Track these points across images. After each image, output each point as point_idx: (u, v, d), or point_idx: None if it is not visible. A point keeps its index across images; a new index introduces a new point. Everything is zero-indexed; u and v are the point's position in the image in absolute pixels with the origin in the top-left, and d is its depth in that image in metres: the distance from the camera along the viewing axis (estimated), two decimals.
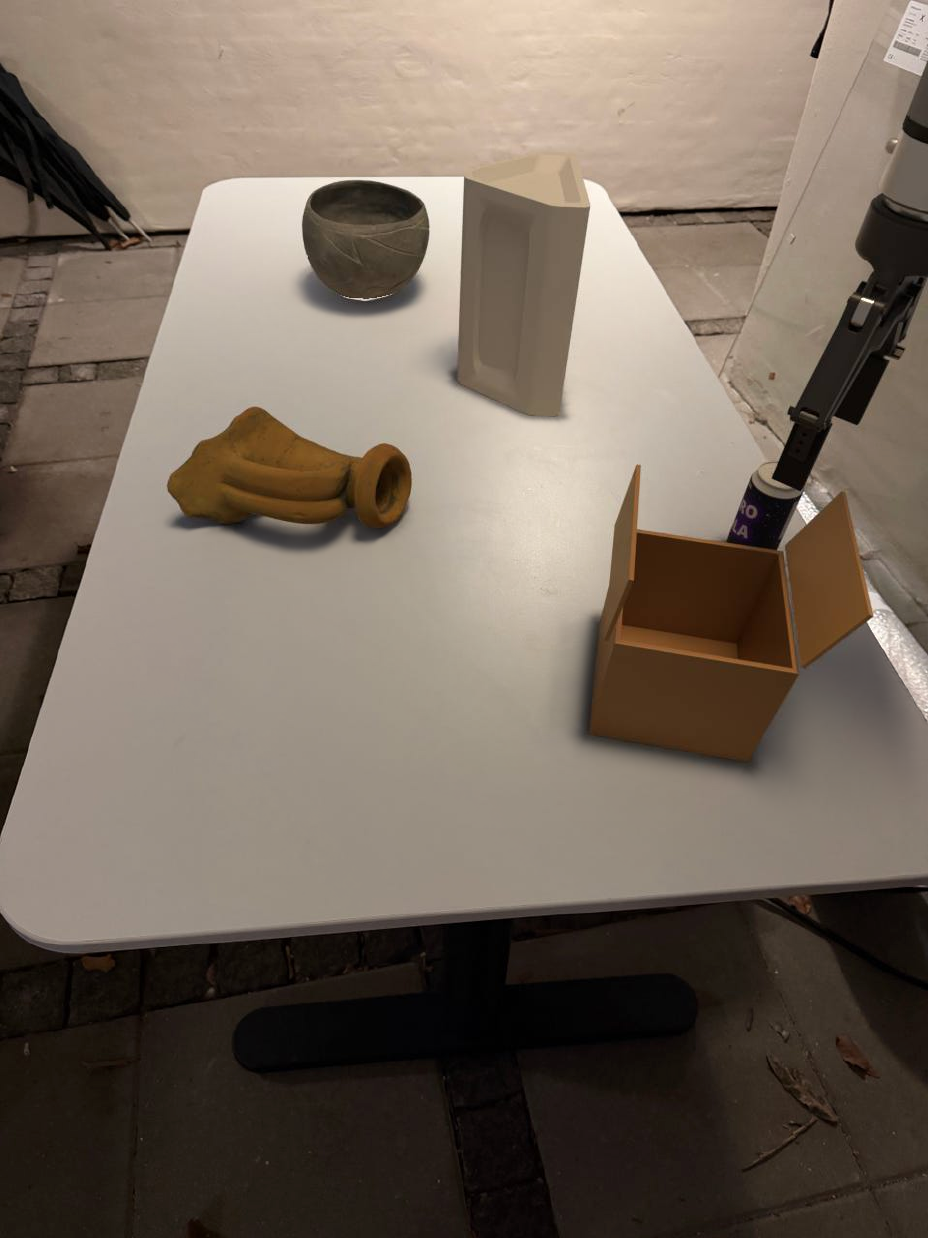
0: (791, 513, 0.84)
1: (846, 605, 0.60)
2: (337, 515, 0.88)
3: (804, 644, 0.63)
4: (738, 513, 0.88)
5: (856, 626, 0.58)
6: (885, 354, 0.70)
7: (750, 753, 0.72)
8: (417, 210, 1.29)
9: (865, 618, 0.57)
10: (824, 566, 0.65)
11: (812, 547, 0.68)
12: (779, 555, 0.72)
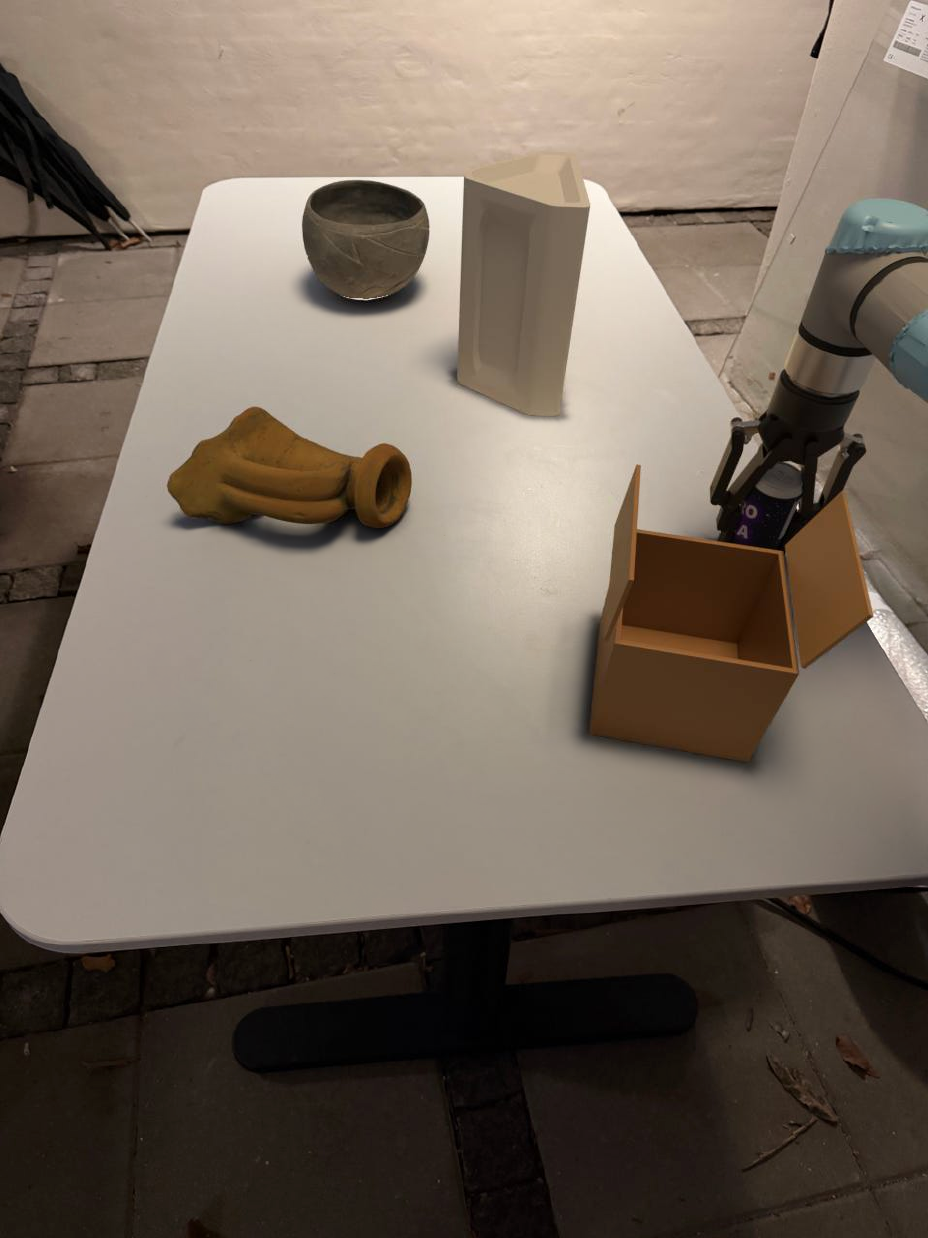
0: (791, 513, 0.84)
1: (846, 605, 0.60)
2: (337, 515, 0.88)
3: (804, 644, 0.63)
4: None
5: (856, 626, 0.58)
6: (800, 516, 0.86)
7: (750, 753, 0.72)
8: (417, 210, 1.29)
9: (865, 618, 0.57)
10: (824, 566, 0.65)
11: (812, 547, 0.68)
12: (779, 555, 0.72)
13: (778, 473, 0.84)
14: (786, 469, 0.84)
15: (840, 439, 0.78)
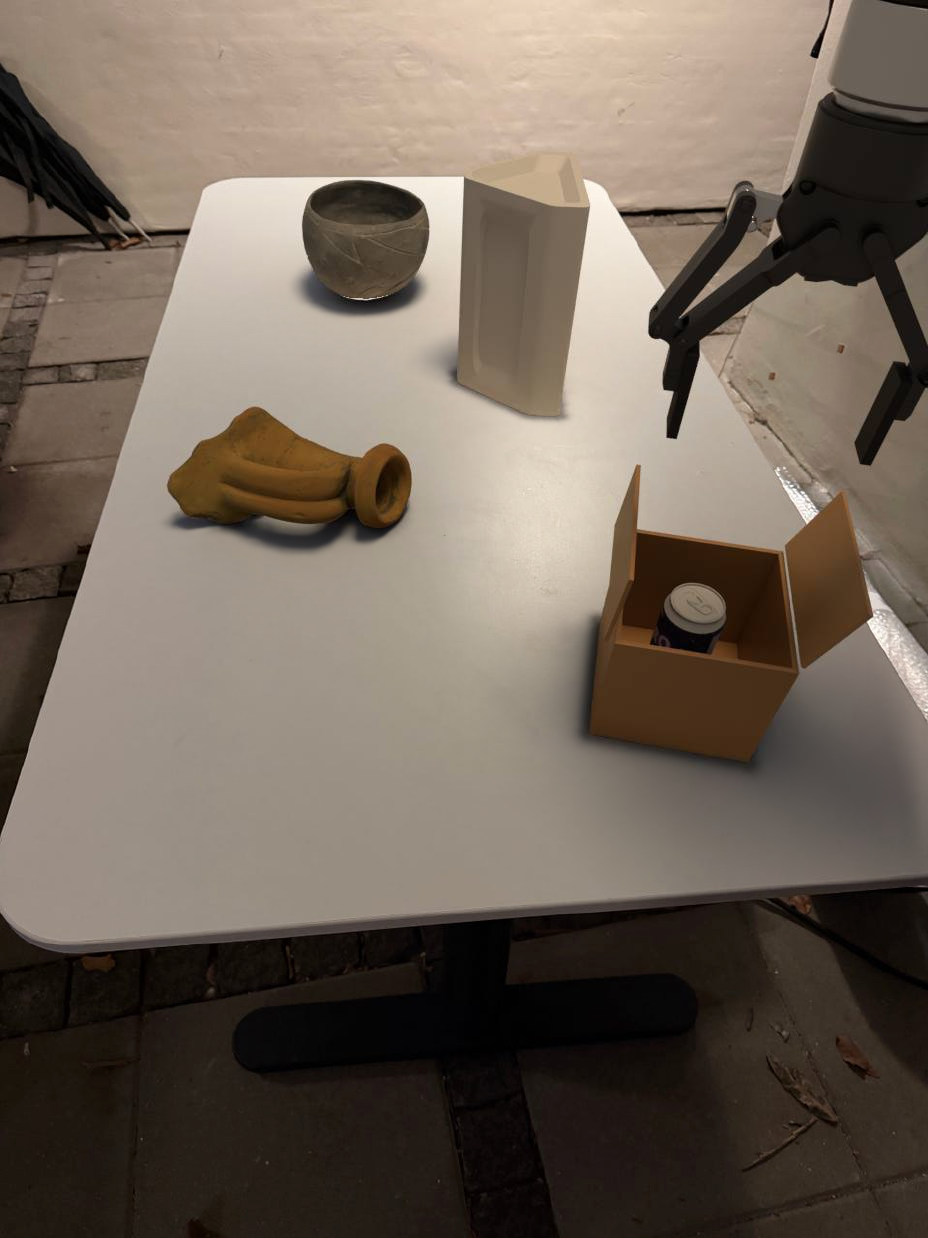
0: (711, 647, 0.70)
1: (846, 605, 0.60)
2: (337, 515, 0.88)
3: (804, 644, 0.63)
4: (652, 640, 0.74)
5: (856, 626, 0.58)
6: (915, 374, 0.50)
7: (750, 753, 0.72)
8: (417, 210, 1.29)
9: (865, 618, 0.57)
10: (824, 566, 0.65)
11: (812, 547, 0.68)
12: (779, 555, 0.72)
13: (695, 600, 0.69)
14: (705, 595, 0.70)
15: (925, 223, 0.44)
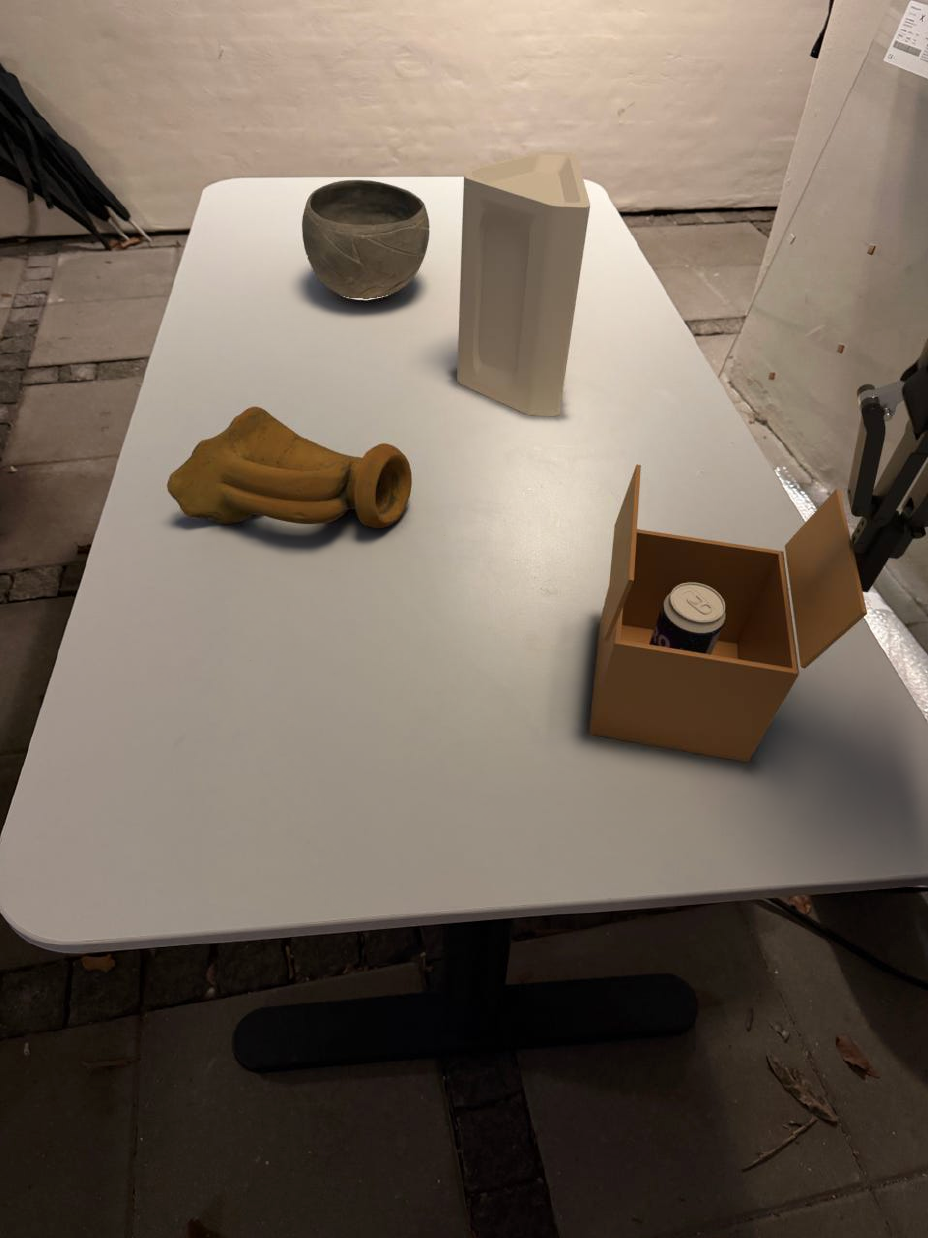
0: (710, 646, 0.70)
1: (841, 603, 0.60)
2: (337, 515, 0.88)
3: (803, 644, 0.63)
4: (651, 640, 0.74)
5: (851, 624, 0.58)
6: (907, 520, 0.58)
7: (750, 753, 0.72)
8: (417, 210, 1.29)
9: (859, 616, 0.57)
10: (821, 565, 0.65)
11: (809, 546, 0.68)
12: (779, 555, 0.72)
13: (694, 600, 0.69)
14: (705, 594, 0.70)
15: None
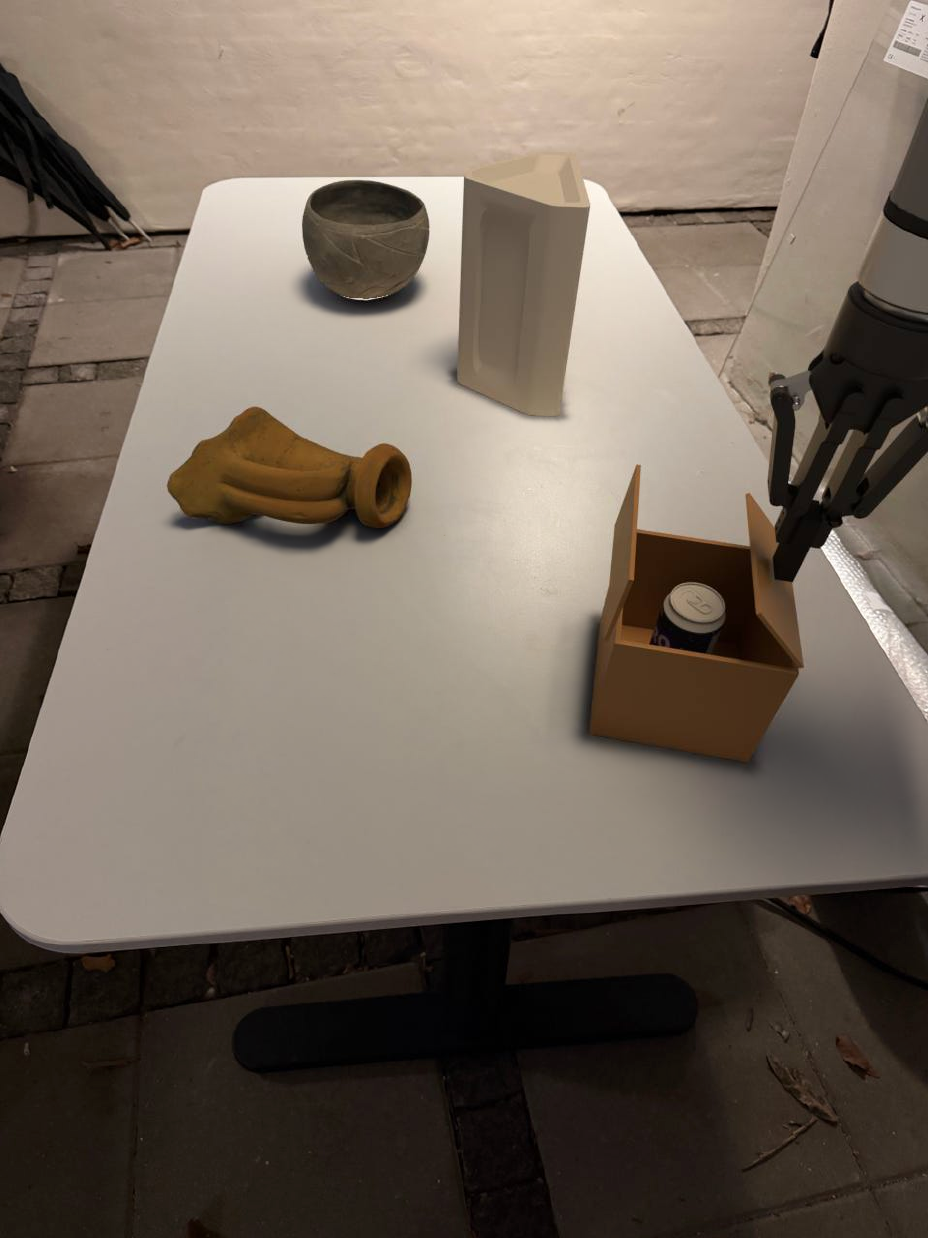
0: (710, 646, 0.70)
1: None
2: (337, 515, 0.88)
3: None
4: (651, 640, 0.74)
5: (766, 625, 0.60)
6: (825, 510, 0.59)
7: (750, 753, 0.72)
8: (417, 210, 1.29)
9: (759, 617, 0.59)
10: None
11: None
12: None
13: (694, 600, 0.69)
14: (705, 594, 0.70)
15: None
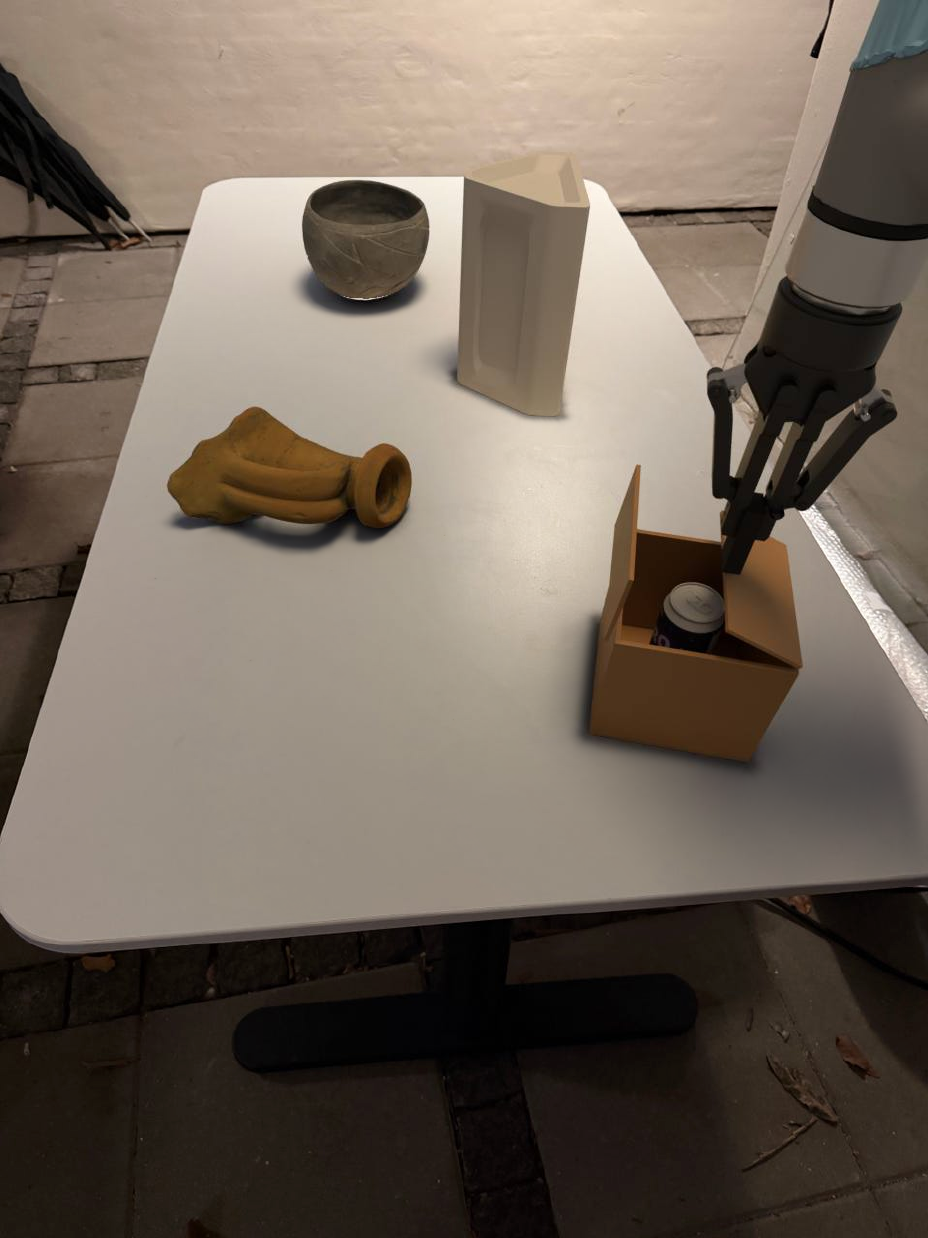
0: (710, 646, 0.70)
1: None
2: (337, 515, 0.88)
3: None
4: (651, 640, 0.74)
5: (741, 638, 0.61)
6: (767, 502, 0.60)
7: (750, 753, 0.72)
8: (417, 210, 1.29)
9: (731, 633, 0.61)
10: None
11: None
12: None
13: (694, 600, 0.69)
14: (705, 594, 0.70)
15: (868, 389, 0.51)
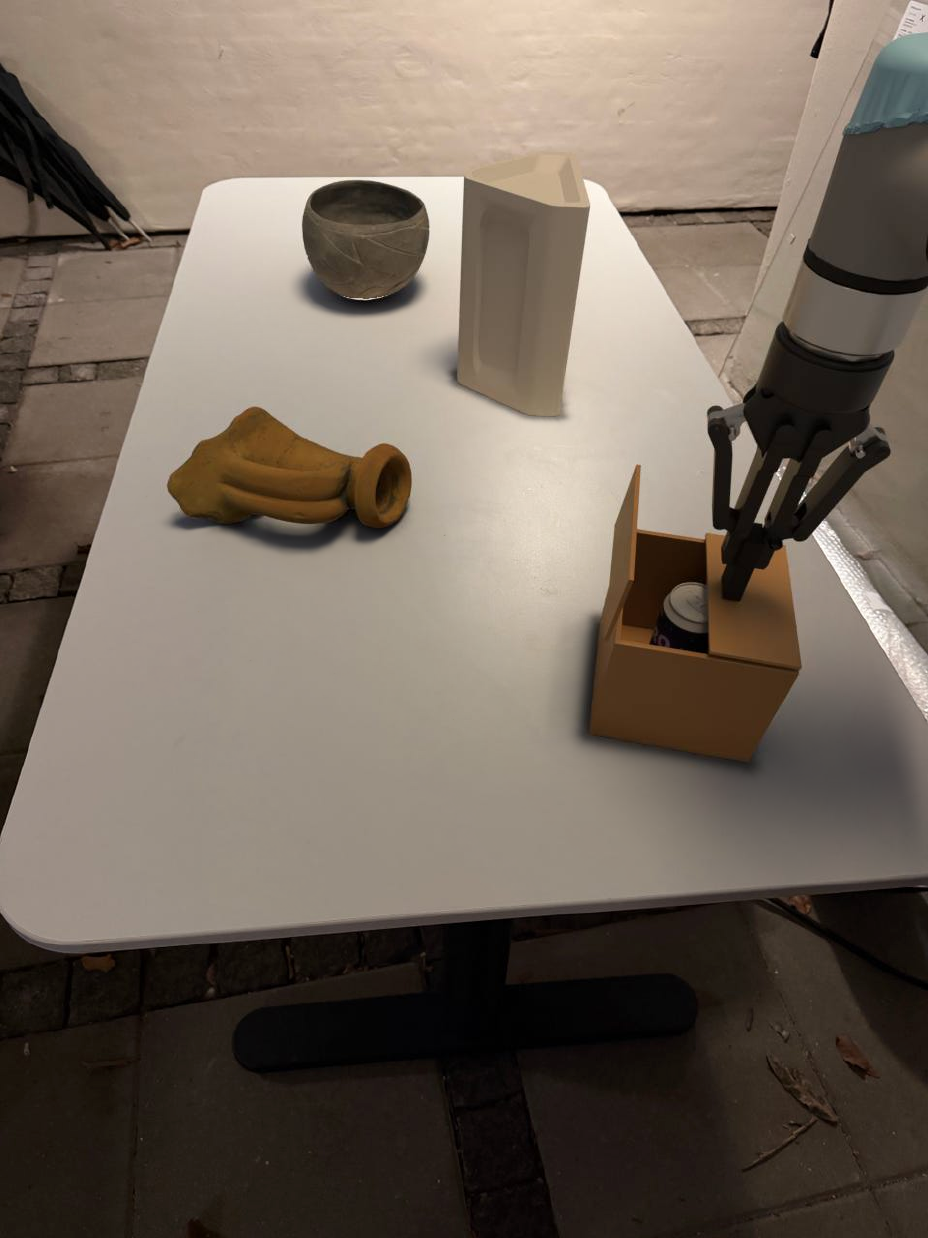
0: None
1: None
2: (337, 515, 0.88)
3: None
4: (651, 640, 0.74)
5: (727, 656, 0.63)
6: (766, 533, 0.62)
7: (750, 753, 0.72)
8: (417, 210, 1.29)
9: (714, 654, 0.63)
10: None
11: None
12: None
13: (694, 600, 0.69)
14: (705, 594, 0.70)
15: (862, 429, 0.53)
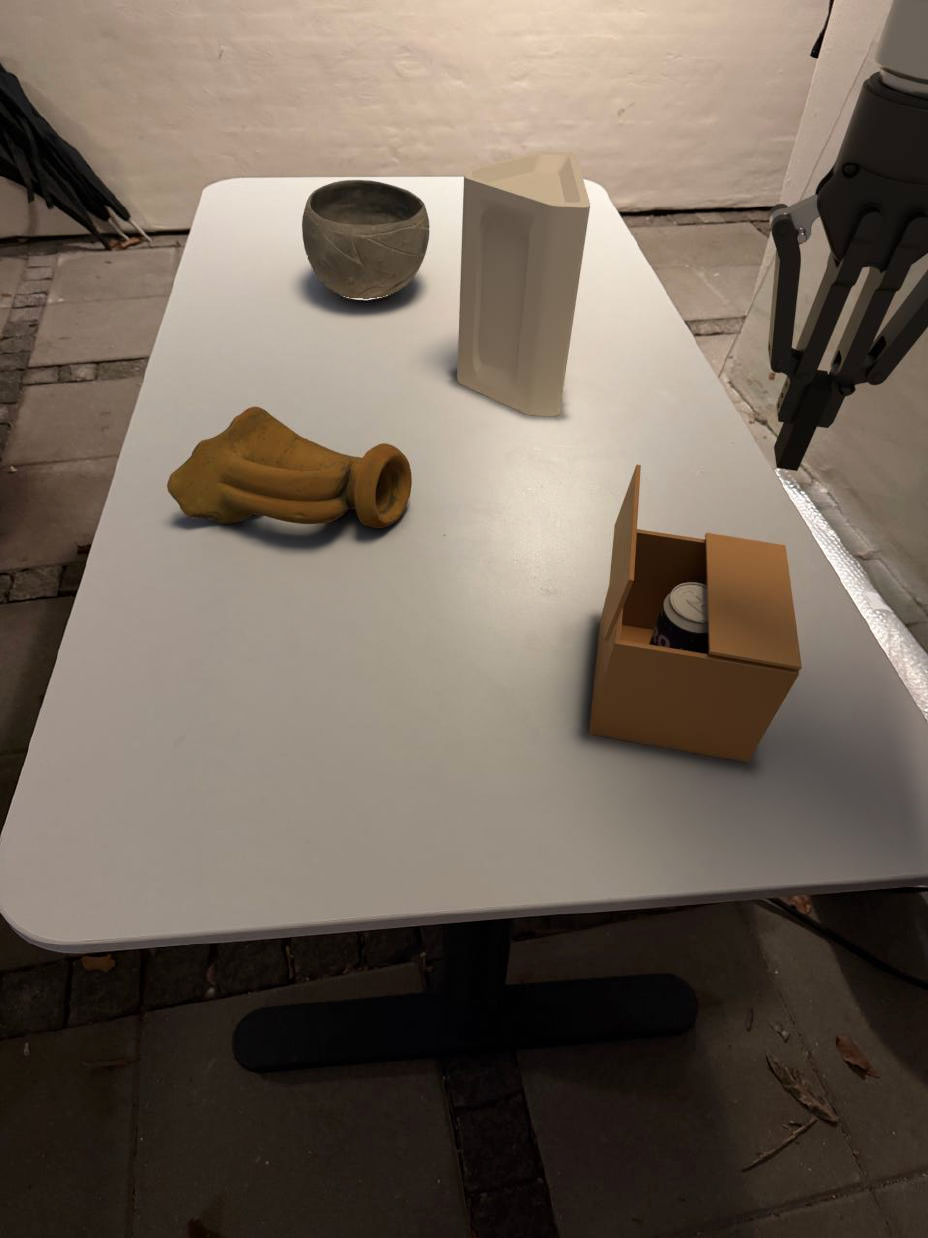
0: None
1: None
2: (337, 515, 0.88)
3: None
4: (651, 640, 0.74)
5: (727, 656, 0.63)
6: (834, 377, 0.51)
7: (750, 753, 0.72)
8: (417, 210, 1.29)
9: (714, 654, 0.63)
10: None
11: None
12: None
13: (694, 600, 0.69)
14: (705, 594, 0.70)
15: None
